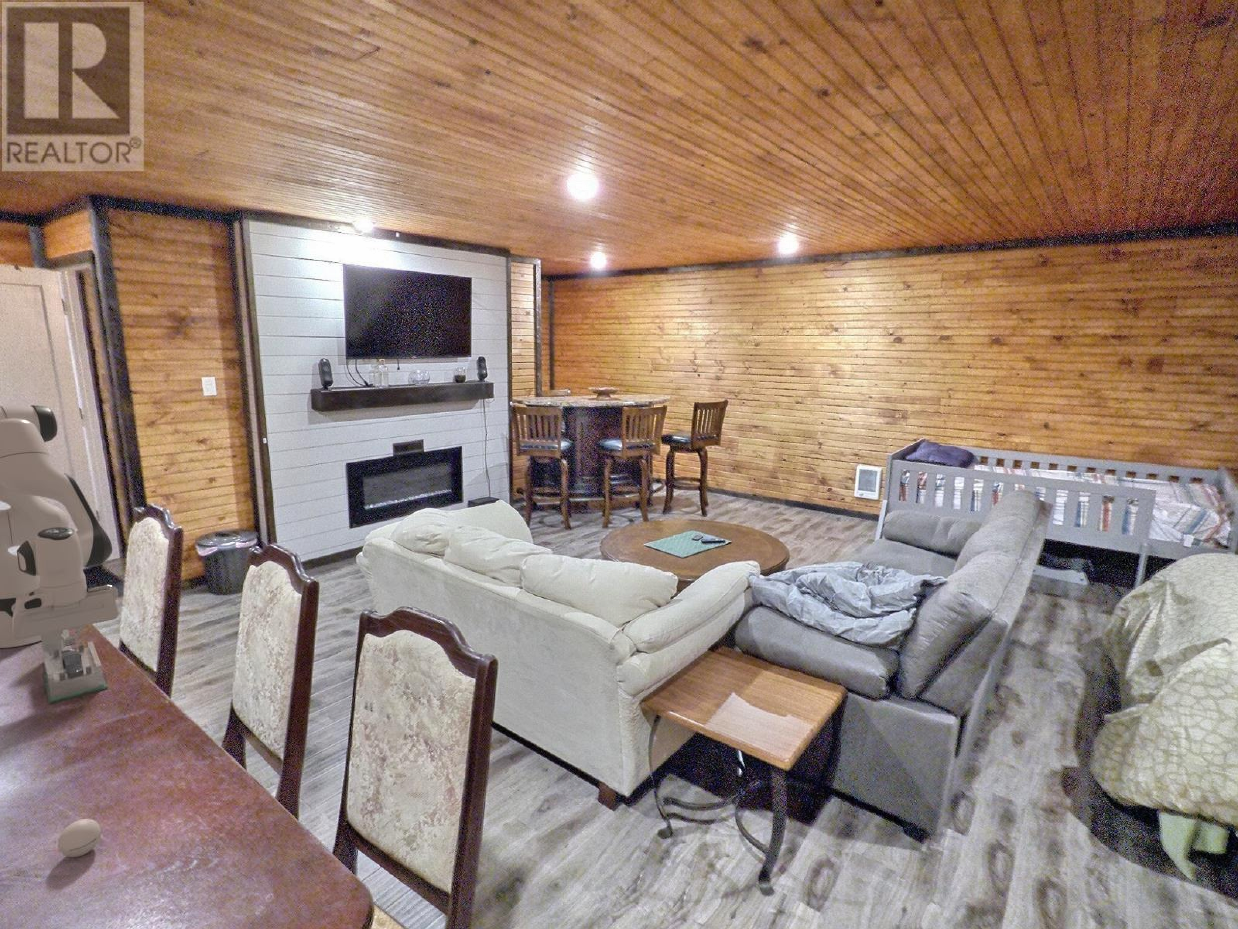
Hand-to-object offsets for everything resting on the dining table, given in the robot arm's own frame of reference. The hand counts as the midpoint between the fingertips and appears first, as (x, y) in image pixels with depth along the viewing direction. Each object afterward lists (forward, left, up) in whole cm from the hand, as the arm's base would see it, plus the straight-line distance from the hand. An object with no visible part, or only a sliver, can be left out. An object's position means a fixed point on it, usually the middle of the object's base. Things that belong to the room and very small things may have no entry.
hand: (70, 644), depth 159 cm
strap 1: (-7, 0, -6) cm, 9 cm away
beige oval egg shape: (+72, -4, -11) cm, 73 cm away
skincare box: (-21, -2, -11) cm, 23 cm away
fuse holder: (-3, 0, -11) cm, 11 cm away
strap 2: (+2, 0, -5) cm, 5 cm away
